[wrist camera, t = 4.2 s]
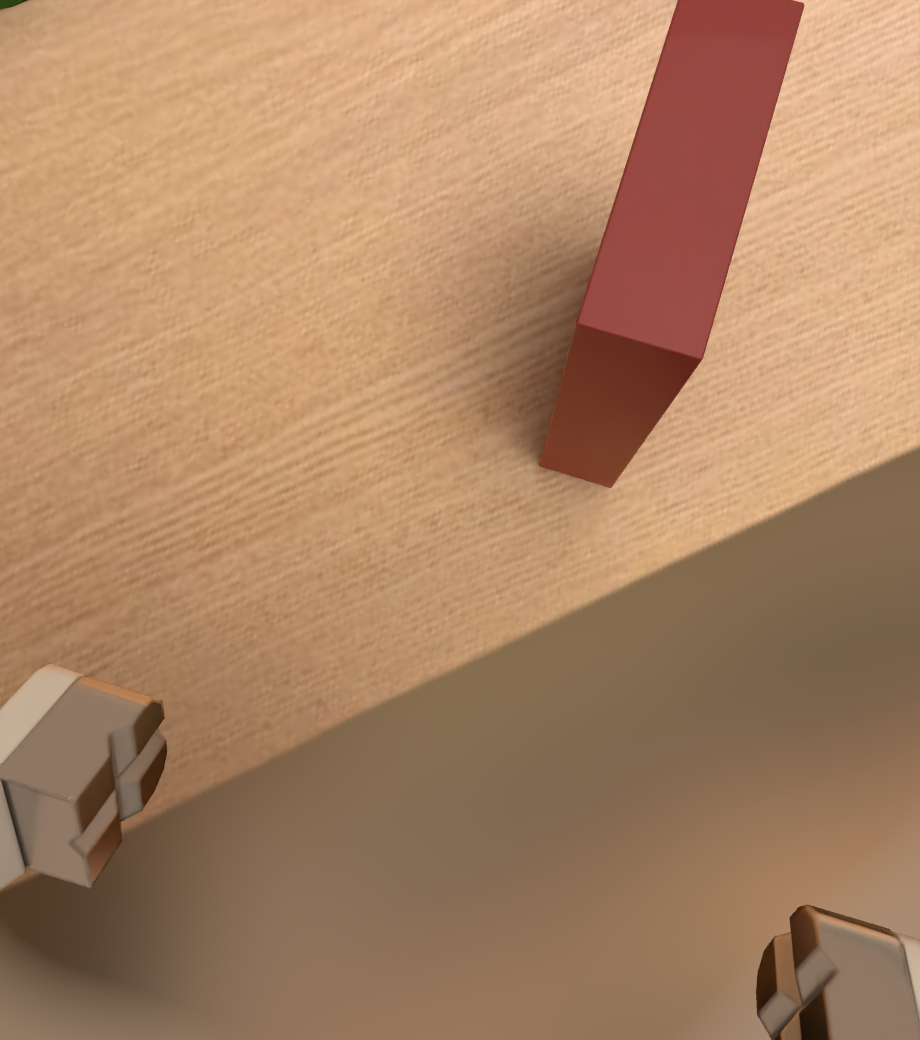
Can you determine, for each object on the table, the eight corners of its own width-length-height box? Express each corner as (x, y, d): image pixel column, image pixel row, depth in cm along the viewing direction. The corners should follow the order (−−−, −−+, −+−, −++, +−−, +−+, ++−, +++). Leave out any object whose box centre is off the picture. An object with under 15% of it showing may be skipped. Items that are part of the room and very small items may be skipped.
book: (611, 488, 30) (702, 360, 17) (538, 466, 30) (575, 323, 17) (676, 270, 31) (805, 2, 19) (606, 251, 32) (686, -27, 19)
